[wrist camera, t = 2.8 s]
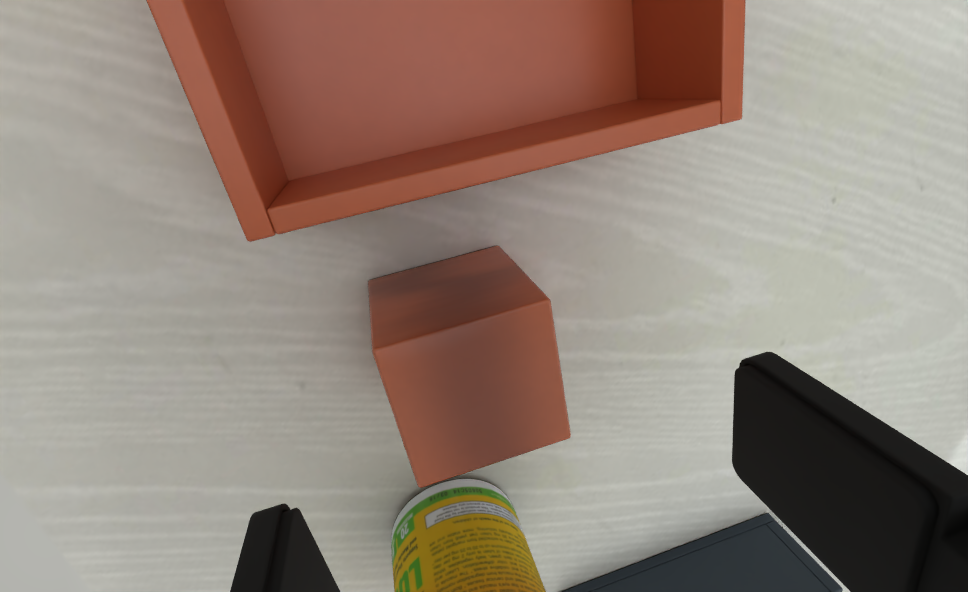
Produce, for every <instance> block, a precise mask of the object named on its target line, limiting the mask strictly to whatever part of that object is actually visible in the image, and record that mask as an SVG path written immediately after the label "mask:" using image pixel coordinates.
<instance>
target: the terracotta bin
mask: <svg viewBox="0 0 968 592" xmlns="http://www.w3.org/2000/svg"><path fill="white" fill-rule="evenodd" d="M146 1H147V3H148V5H149V8H150V10H151V13H152V15H153V17H154V20H155V22H156V25H157V27H158V29H159V32H160V34H161V36H162V39H163V41H164V44H165V46H166V48H167V51H168V53H169V55H170V58H171V60H172V63H173V65H174V67H175V70H176V72H177V74H178V77H179V79H180V82H181V84H182V86H183V89H184V91H185V94H186V96H187V98H188V101H189V103H190V105H191V108H192V110H193V113H194V115H195V117H196V120H197V122H198V124H199V127H200V129H201V132H202V134H203V136H204V139H205V141H206V144H207V146H208V148H209V151H210V153H211V155H212V158H213V160H214V163H215V165H216V167H217V170H218V172H219V174H220V177H221V179H222V182H223V184H224V186H225V189H226V191H227V193H228V196H229V198H230V201H231V203H232V205H233V208H234V210H235V213H236V215H237V217H238V220H239V222H240V224H241V227H242V229H243V232H244V234H245V236H246V239H247V240H248V241H250V242H251V241H255V240H259V239H263V238H267V237H271V236H274V235H275V234H282V233H286V232H290V231H294V230H298V229H302V228H306V227H310V226H314V225H318V224H322V223H326V222H330V221H334V220H338V219H342V218H346V217H350V216H354V215H358V214H362V213H366V212H370V211H374V210H378V209H382V208H386V207H390V206H394V205H399V204H403V203H407V202H411V201H415V200H419V199H423V198H427V197H431V196H435V195H439V194H443V193H447V192H451V191H455V190H459V189H463V188H467V187H471V186H475V185H479V184H483V183H487V182H491V181H495V180H499V179H503V178H507V177H511V176H515V175H519V174H523V173H527V172H531V171H535V170H539V169H543V168H547V167H551V166H555V165H559V164H563V163H567V162H571V161H575V160H579V159H583V158H587V157H591V156H595V155H599V154H603V153H607V152H611V151H615V150H619V149H623V148H627V147H631V146H636V145H640V144H644V143H648V142H652V141H656V140H660V139H664V138H668V137H672V136H676V135H680V134H684V133H688V132H692V131H696V130H700V129H704V128H708V127H712V126H716V125H718V124H725V123H729V122H733V121H737V120H740V119H742V98H743V64H744V30H745V0H146Z"/></svg>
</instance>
